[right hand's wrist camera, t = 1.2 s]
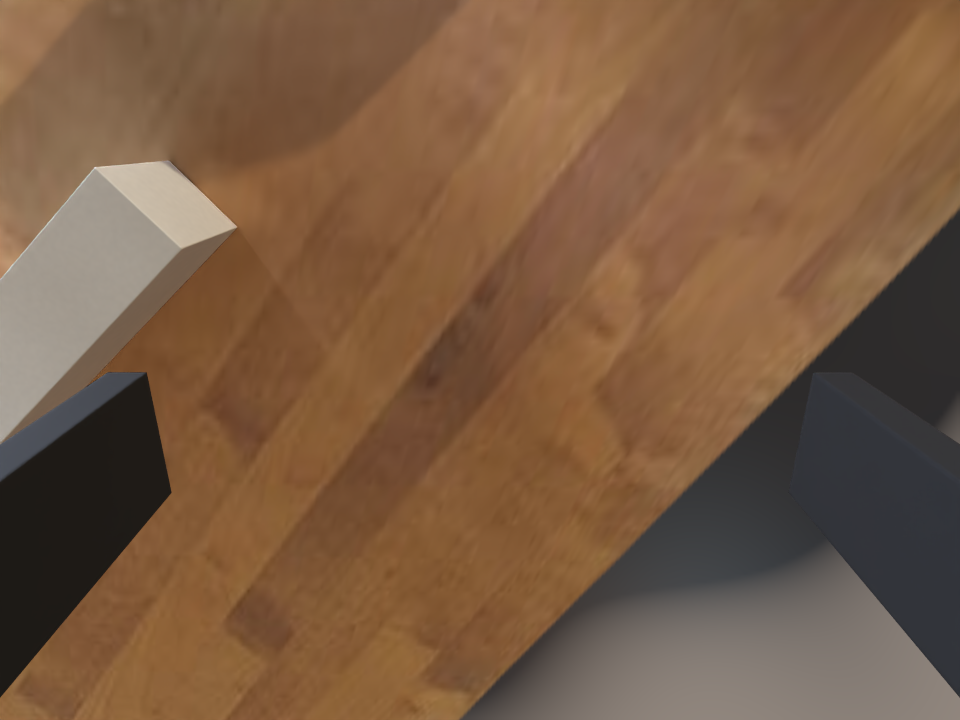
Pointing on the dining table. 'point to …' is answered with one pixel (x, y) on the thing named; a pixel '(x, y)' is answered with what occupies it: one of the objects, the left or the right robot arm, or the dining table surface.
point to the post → (97, 281)
